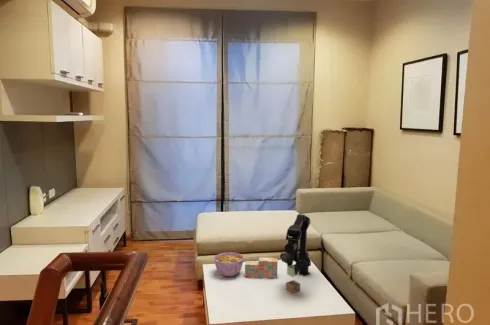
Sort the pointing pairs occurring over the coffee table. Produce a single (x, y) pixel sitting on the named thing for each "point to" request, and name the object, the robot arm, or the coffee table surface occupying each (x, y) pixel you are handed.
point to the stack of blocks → (261, 268)
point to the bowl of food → (228, 263)
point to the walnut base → (292, 286)
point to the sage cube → (291, 270)
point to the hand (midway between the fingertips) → (293, 273)
